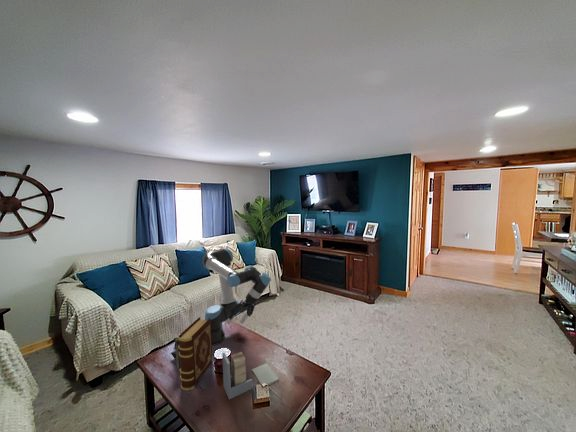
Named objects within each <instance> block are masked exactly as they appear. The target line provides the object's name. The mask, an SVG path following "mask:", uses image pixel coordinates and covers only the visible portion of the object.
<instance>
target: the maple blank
mask: <svg viewBox="0 0 576 432" xmlns="http://www.w3.org/2000/svg"><path fill="white" fill-rule="evenodd" d="M246 370H247V369H246V357H245V355H244V354H243V352H242V351H239V352H238V353H234V354H231V355H230V372H231V375H232V385H231V388H232V387H234V386H236V385H238V384H241V383H243V382H245V381H247V379H246Z"/></svg>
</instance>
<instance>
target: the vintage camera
mask: <svg viewBox="0 0 576 432" xmlns="http://www.w3.org/2000/svg"><path fill="white" fill-rule="evenodd" d="M173 342H174V346H173V347H174V349H175V351H172V352H170V355H171V356H172V357H173V359H174V360H175V361H176V367H177V369H178V370H180V368H181V367H180V356H179V352H180V350H179V348H178V346H179V340H178V336H177V337H174V338H173Z"/></svg>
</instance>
